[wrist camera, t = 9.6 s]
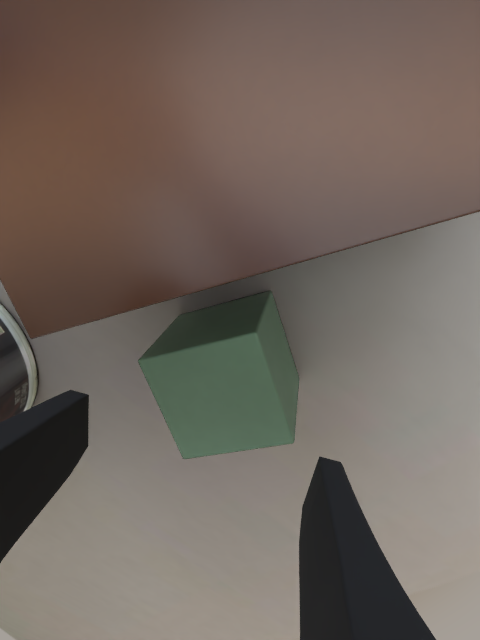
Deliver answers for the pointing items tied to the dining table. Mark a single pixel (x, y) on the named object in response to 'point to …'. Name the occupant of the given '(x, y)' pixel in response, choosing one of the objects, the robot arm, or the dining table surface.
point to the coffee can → (15, 368)
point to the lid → (222, 141)
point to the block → (225, 378)
